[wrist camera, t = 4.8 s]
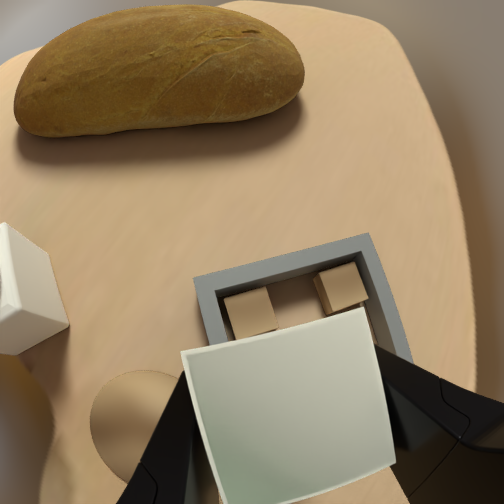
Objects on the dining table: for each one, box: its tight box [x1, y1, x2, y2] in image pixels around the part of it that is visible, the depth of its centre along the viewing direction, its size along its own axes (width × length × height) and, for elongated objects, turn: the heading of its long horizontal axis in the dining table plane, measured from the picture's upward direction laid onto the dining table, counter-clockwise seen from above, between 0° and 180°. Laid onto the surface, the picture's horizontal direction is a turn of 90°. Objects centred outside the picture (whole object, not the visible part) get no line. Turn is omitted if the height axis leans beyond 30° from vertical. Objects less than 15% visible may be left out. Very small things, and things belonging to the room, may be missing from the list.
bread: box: [14, 5, 305, 138], centre depth 26 cm, size 18×35×10 cm, turn 90°
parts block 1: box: [224, 287, 279, 340], centre depth 22 cm, size 3×3×2 cm
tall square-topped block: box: [180, 307, 396, 504], centre depth 11 cm, size 4×4×10 cm
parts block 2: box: [313, 262, 368, 315], centre depth 23 cm, size 3×3×2 cm
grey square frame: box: [193, 233, 414, 364], centre depth 20 cm, size 14×13×2 cm
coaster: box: [90, 371, 178, 483], centre depth 19 cm, size 10×10×1 cm
